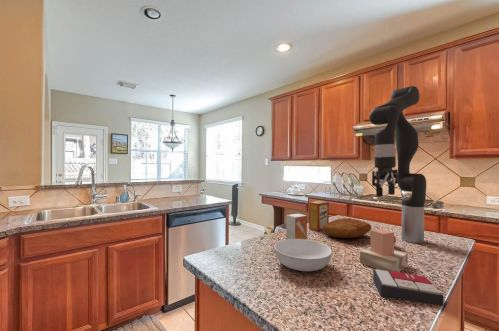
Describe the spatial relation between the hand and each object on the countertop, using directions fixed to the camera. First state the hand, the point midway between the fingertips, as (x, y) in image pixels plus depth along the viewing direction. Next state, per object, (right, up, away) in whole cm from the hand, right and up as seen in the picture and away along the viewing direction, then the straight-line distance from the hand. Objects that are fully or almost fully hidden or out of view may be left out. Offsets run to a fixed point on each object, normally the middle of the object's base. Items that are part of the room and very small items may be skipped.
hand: (385, 195), depth 98 cm
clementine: (+7, -25, +12) cm, 29 cm away
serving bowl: (-36, -25, -9) cm, 45 cm away
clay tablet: (-5, -25, +27) cm, 37 cm away
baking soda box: (-15, -25, +42) cm, 51 cm away
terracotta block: (-6, -20, -8) cm, 23 cm away
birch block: (-5, -25, -8) cm, 27 cm away
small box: (-33, -25, +18) cm, 45 cm away
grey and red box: (-10, -26, -27) cm, 38 cm away
